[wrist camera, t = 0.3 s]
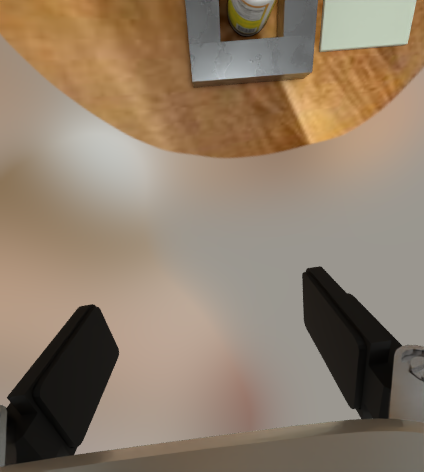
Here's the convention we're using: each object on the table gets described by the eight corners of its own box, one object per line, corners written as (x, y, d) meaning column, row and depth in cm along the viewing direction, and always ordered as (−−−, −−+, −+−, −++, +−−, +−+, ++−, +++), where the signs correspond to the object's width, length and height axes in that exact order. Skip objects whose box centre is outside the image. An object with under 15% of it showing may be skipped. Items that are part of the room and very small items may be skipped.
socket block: (179, -70, 27) (176, -96, 24) (313, -82, 26) (326, -109, 24) (193, 87, 33) (192, 81, 30) (303, 78, 32) (312, 72, 30)
